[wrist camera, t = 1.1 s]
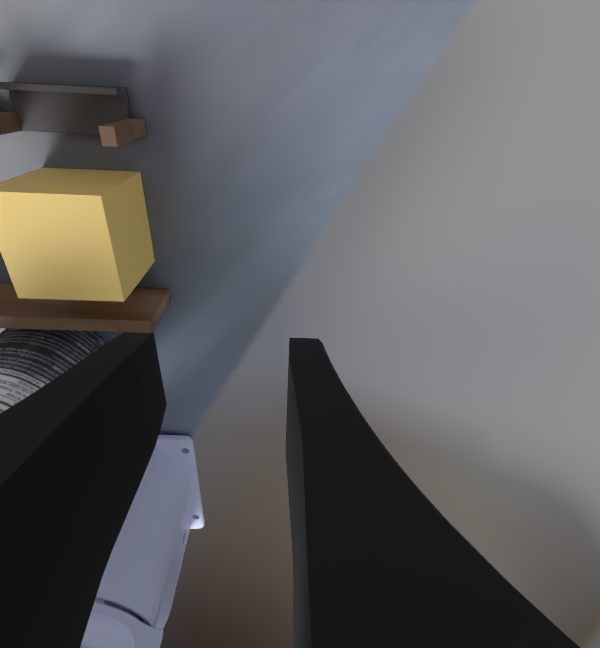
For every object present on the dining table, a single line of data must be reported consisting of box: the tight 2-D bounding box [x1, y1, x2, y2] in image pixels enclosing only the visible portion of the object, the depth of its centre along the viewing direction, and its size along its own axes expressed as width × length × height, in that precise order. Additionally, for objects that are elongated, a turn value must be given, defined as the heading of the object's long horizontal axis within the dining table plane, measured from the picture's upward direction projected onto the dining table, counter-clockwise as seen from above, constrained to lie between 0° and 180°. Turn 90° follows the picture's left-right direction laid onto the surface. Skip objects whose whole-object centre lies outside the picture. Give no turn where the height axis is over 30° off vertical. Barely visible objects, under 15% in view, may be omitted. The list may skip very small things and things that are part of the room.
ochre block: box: [0, 168, 155, 302], centre depth 16 cm, size 4×4×4 cm
